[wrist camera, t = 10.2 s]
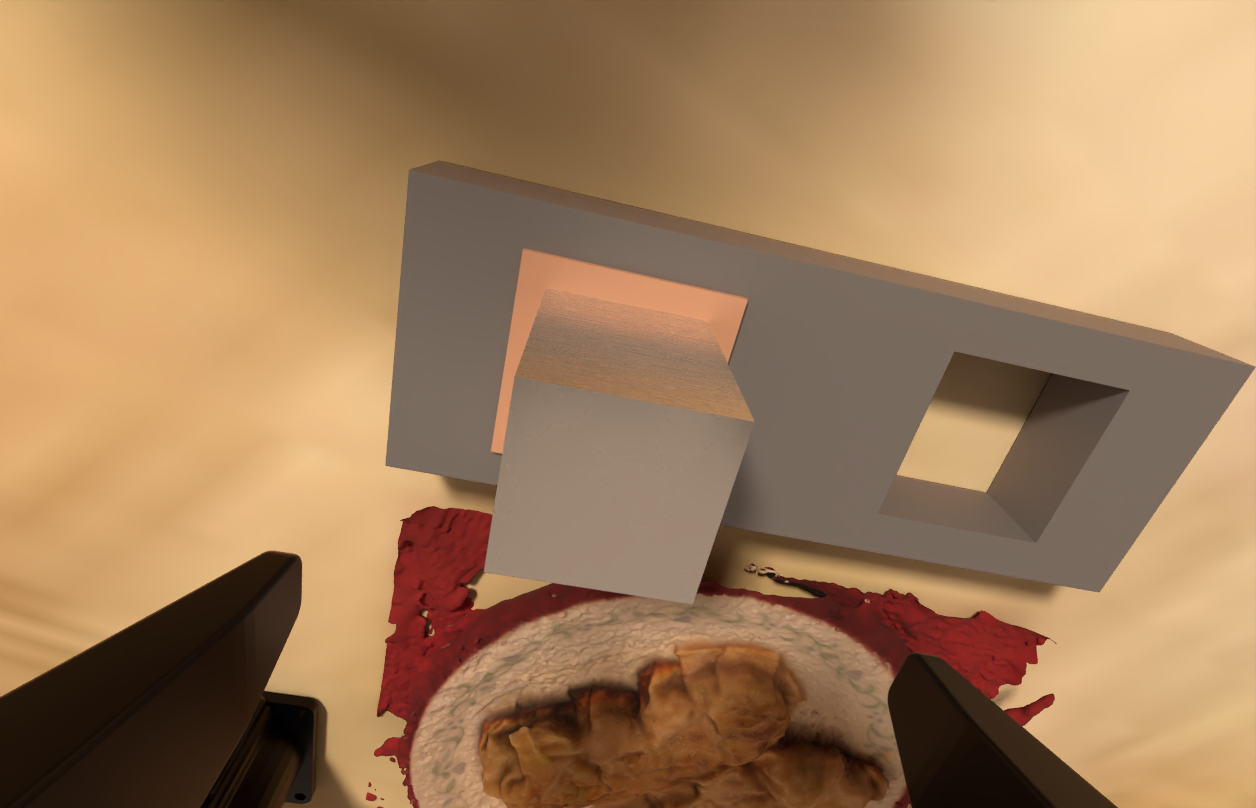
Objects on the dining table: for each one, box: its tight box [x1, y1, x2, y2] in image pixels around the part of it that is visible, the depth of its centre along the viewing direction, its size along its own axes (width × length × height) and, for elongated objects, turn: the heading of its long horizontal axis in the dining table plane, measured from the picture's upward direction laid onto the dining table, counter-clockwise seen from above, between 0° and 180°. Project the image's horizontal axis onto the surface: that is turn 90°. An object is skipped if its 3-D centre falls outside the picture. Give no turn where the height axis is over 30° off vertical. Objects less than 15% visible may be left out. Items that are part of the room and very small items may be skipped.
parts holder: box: [386, 161, 1255, 592], centre depth 20 cm, size 8×24×3 cm, turn 77°
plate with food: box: [366, 506, 1056, 808], centre depth 28 cm, size 24×26×3 cm
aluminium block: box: [484, 288, 755, 604], centre depth 15 cm, size 4×4×6 cm
